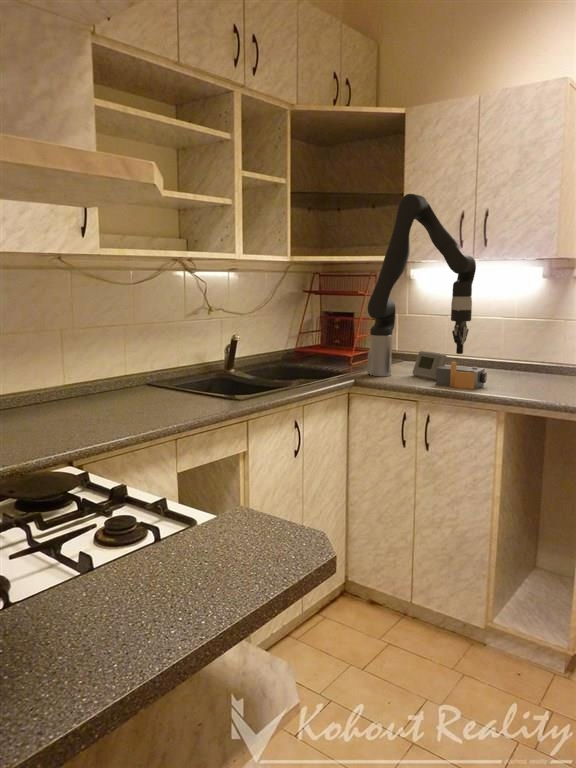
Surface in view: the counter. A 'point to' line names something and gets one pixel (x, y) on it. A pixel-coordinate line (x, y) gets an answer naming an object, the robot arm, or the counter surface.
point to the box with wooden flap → (445, 371)
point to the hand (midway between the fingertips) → (459, 353)
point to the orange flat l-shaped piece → (462, 378)
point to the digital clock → (428, 364)
